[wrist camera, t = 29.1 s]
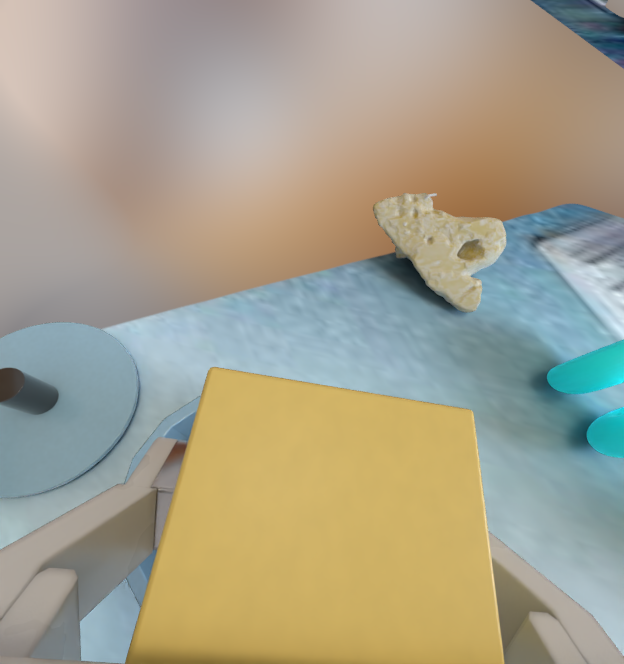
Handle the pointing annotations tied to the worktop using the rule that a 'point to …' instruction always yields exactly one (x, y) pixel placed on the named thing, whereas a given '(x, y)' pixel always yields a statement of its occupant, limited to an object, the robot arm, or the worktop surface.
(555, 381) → the donuts
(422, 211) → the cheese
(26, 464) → the pot lid
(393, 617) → the butter
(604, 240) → the worktop surface
